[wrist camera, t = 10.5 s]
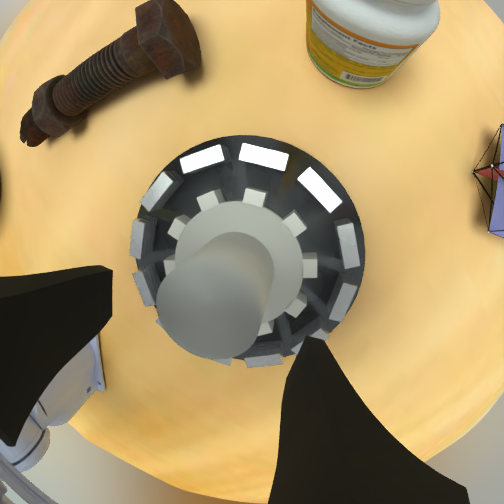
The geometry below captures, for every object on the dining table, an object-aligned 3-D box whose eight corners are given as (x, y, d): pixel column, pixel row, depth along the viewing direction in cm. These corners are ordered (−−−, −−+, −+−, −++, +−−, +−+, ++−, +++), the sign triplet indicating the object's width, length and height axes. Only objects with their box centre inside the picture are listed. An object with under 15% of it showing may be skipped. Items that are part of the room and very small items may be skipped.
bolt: (60, 124, 18) (205, 45, 14) (45, 170, 17) (202, 86, 13) (19, 94, 12) (167, -17, 9) (-5, 141, 11) (151, 10, 7)
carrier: (314, 372, 18) (314, 396, 16) (136, 313, 19) (118, 329, 17) (391, 178, 14) (407, 180, 11) (163, 120, 15) (142, 114, 12)
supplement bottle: (345, 6, 11) (367, -97, 1) (409, 62, 11) (490, -13, 2) (287, 47, 12) (265, -68, 3) (355, 107, 13) (424, 29, 4)
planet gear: (288, 341, 16) (280, 415, 11) (166, 301, 17) (114, 355, 11) (335, 211, 14) (360, 240, 8) (187, 171, 14) (121, 175, 9)
